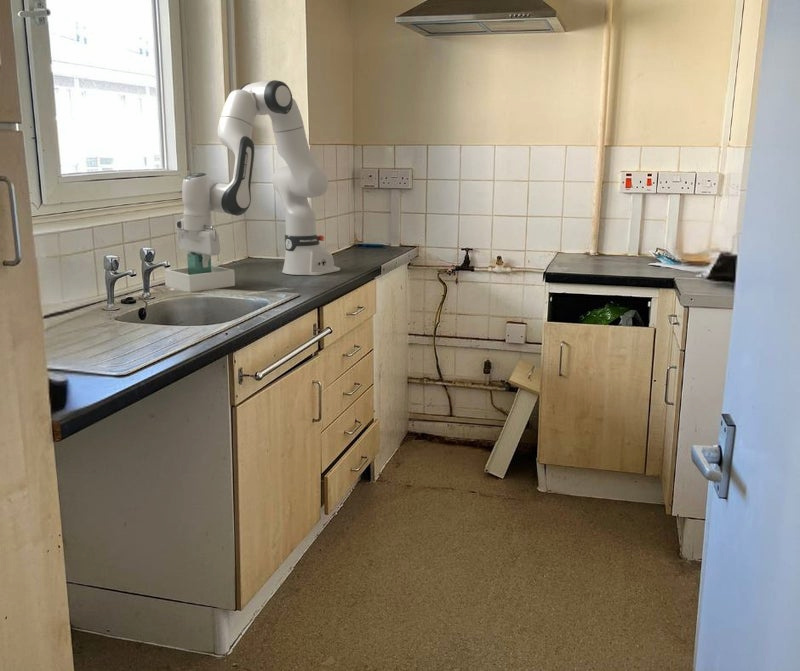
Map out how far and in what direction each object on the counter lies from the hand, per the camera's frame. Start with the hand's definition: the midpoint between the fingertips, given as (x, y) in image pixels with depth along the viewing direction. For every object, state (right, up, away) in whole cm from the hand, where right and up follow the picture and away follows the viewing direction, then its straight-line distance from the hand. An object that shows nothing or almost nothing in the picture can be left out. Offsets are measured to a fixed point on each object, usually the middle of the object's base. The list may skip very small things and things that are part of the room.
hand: (199, 266), depth 262 cm
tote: (0, -7, +2) cm, 7 cm away
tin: (0, -3, +1) cm, 3 cm away
